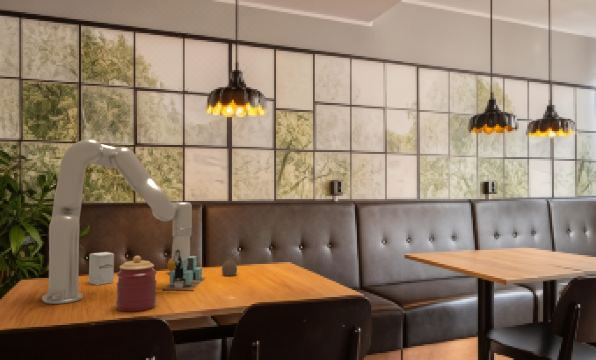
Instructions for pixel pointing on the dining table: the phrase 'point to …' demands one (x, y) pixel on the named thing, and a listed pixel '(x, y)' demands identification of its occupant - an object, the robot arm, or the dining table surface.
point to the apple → (171, 265)
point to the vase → (229, 268)
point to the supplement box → (101, 268)
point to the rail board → (189, 286)
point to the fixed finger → (194, 267)
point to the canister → (136, 285)
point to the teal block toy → (186, 273)
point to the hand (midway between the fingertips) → (181, 276)
